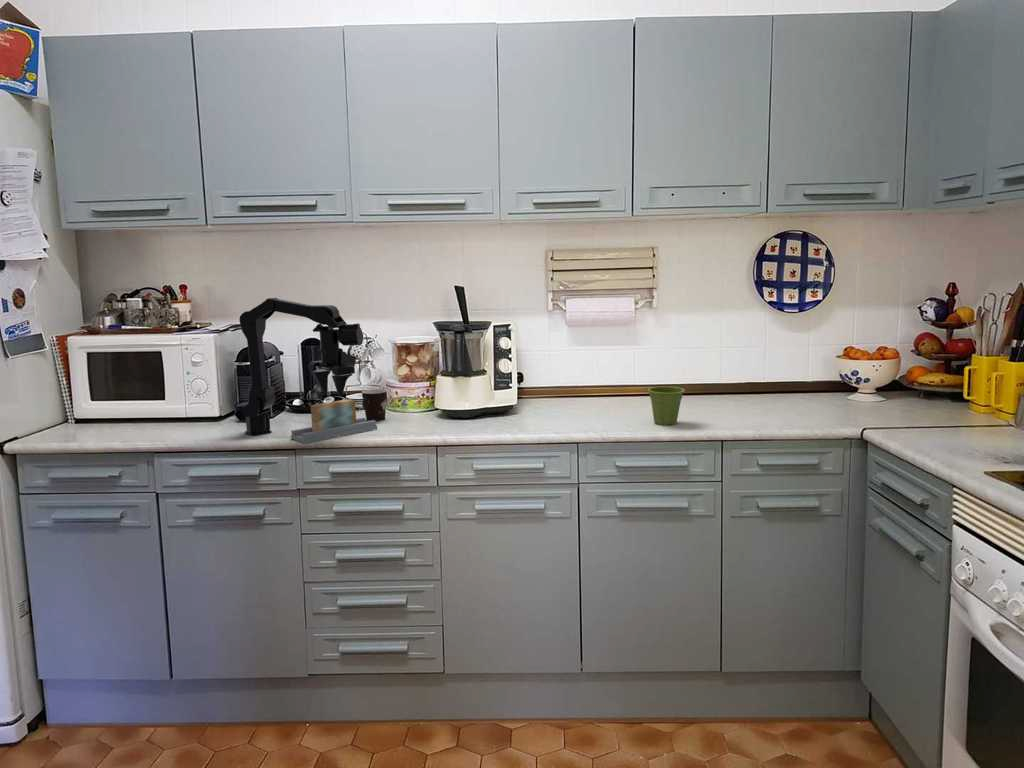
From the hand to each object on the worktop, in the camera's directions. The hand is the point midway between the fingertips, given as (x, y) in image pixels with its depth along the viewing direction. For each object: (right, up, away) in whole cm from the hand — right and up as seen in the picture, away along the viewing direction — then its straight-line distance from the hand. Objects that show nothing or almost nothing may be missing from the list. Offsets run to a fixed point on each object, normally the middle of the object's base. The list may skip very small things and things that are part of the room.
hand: (332, 394), depth 246 cm
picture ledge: (0, -13, +2) cm, 13 cm away
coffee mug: (+9, -9, +22) cm, 26 cm away
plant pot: (+107, -10, +7) cm, 108 cm away
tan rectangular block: (0, -12, +2) cm, 12 cm away
